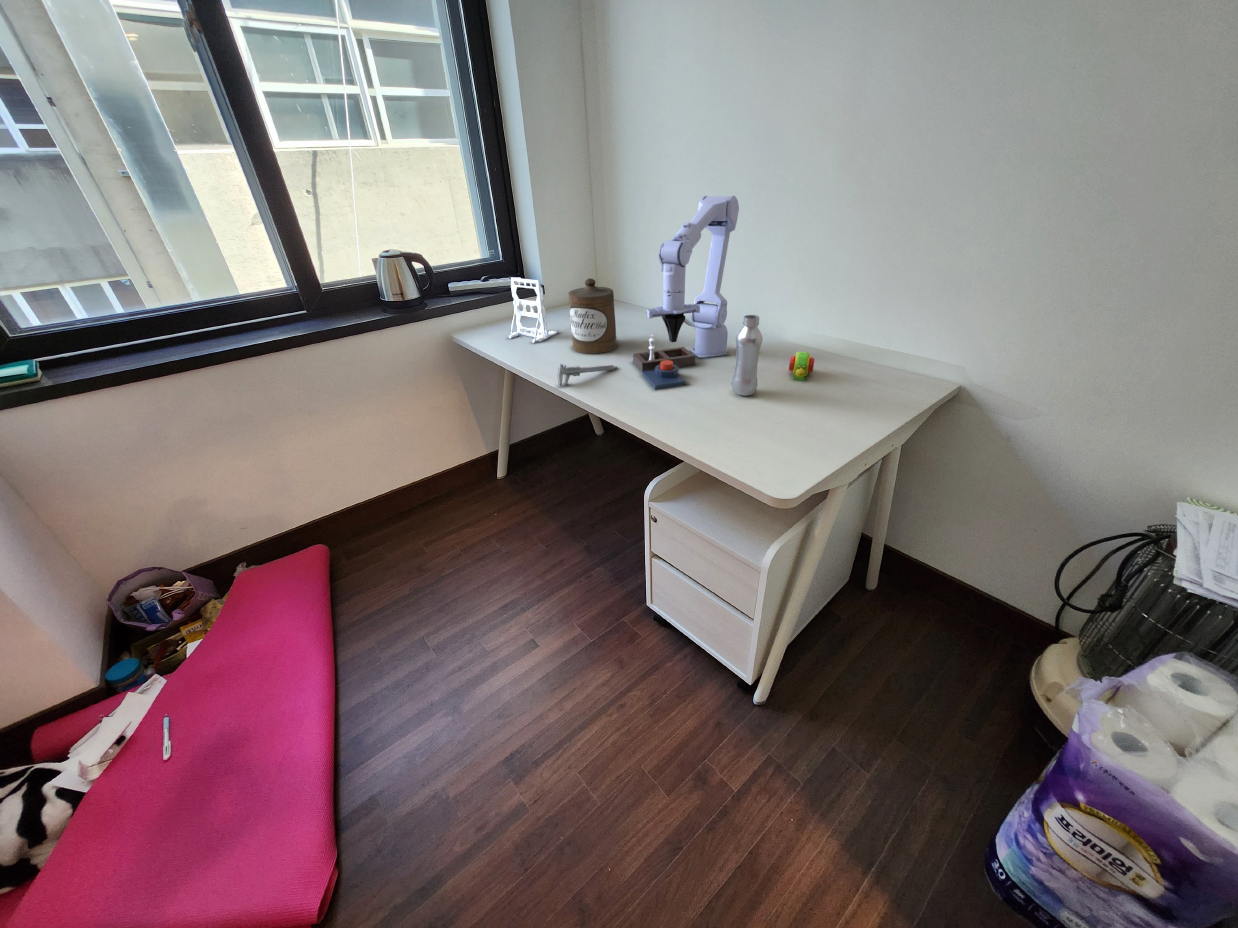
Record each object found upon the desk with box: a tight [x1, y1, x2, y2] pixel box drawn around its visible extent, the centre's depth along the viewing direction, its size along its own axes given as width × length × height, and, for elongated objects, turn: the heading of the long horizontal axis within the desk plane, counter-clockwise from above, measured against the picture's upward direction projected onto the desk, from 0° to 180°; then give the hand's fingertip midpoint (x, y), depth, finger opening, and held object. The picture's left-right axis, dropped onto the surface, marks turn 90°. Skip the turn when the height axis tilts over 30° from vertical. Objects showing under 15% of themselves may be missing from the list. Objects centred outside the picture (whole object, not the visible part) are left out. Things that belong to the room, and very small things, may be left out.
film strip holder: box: [508, 276, 558, 344], centre depth 171 cm, size 14×14×20 cm
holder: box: [632, 346, 696, 373], centre depth 146 cm, size 17×9×3 cm, turn 106°
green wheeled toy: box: [788, 351, 815, 381], centre depth 137 cm, size 6×19×7 cm, turn 160°
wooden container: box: [567, 277, 617, 355], centre depth 158 cm, size 15×15×22 cm
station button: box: [660, 360, 673, 371], centre depth 136 cm, size 4×4×2 cm
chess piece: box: [648, 332, 656, 360], centre depth 144 cm, size 5×5×10 cm
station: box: [641, 364, 687, 390], centre depth 136 cm, size 9×11×3 cm
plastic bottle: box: [731, 314, 764, 397], centre depth 121 cm, size 6×7×20 cm
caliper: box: [556, 363, 618, 387], centre depth 139 cm, size 20×1×6 cm, turn 129°
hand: (672, 341), depth 133 cm, fingers closed
